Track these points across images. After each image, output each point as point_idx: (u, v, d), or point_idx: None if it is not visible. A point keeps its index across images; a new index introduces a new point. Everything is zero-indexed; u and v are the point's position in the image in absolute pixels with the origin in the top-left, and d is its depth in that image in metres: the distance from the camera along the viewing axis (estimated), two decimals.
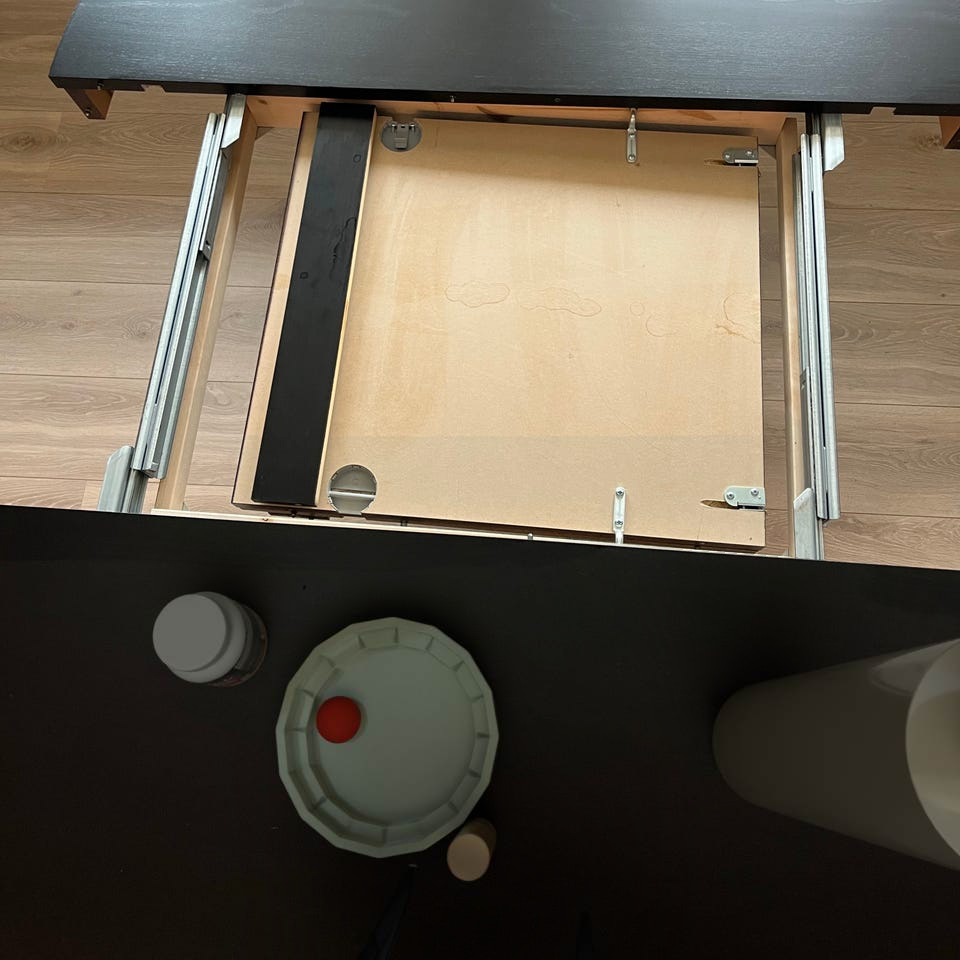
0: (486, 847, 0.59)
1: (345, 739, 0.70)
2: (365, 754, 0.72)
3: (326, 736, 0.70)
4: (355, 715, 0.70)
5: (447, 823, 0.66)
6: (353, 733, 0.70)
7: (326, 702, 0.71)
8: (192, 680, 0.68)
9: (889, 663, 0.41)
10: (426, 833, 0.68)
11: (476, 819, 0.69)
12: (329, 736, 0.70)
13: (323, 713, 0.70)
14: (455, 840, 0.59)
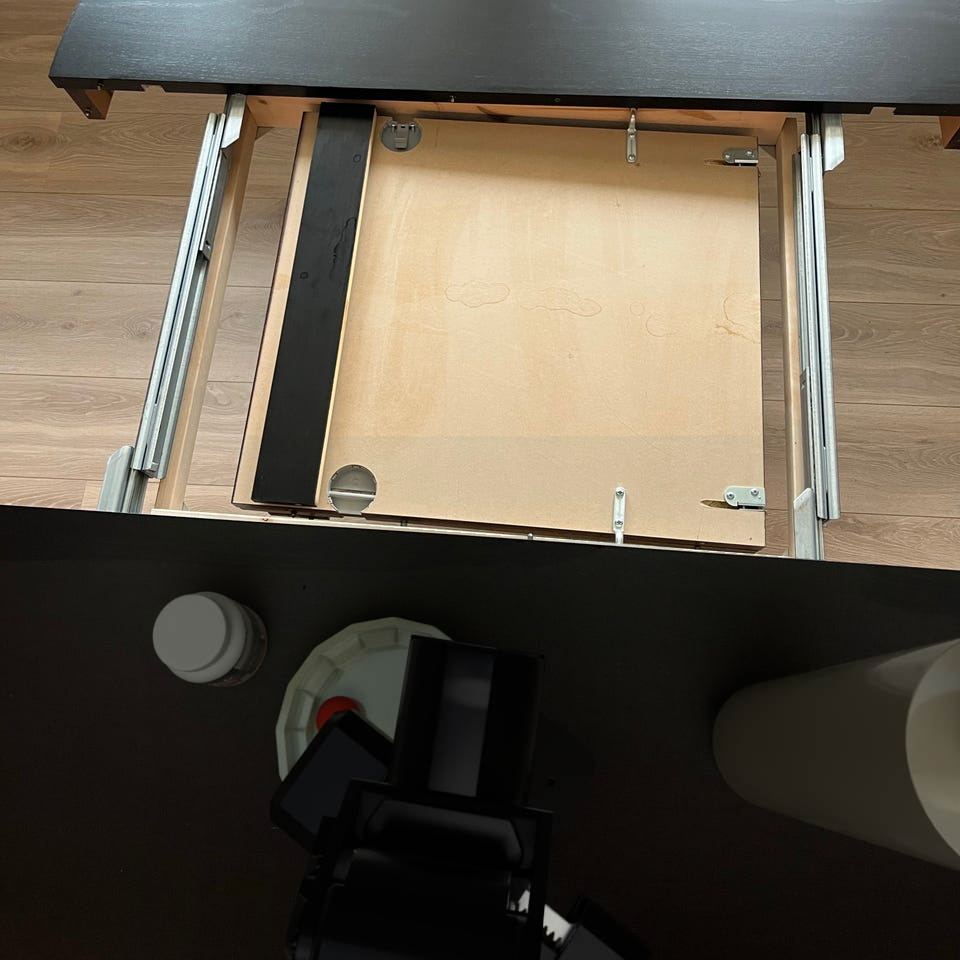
0: None
1: None
2: None
3: None
4: None
5: None
6: None
7: (326, 702, 0.71)
8: (192, 680, 0.68)
9: (889, 663, 0.41)
10: None
11: None
12: None
13: (323, 713, 0.70)
14: None
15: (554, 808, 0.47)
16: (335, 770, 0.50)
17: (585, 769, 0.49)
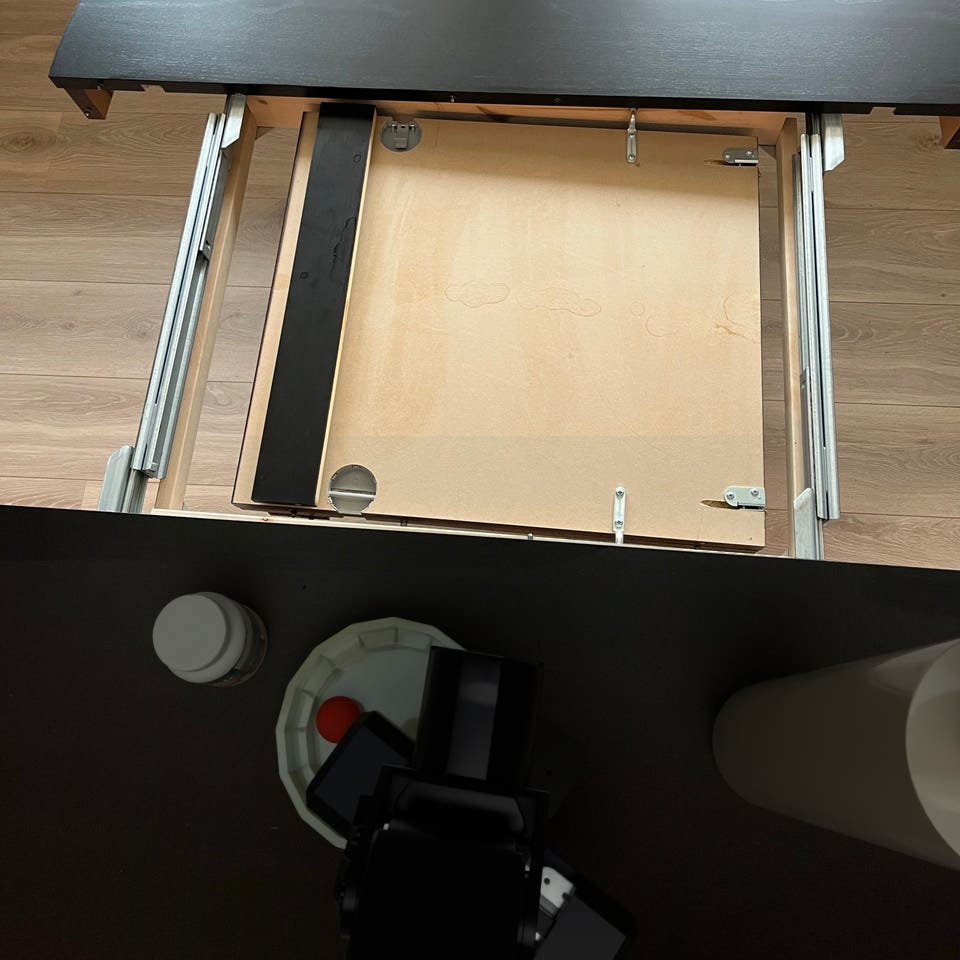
0: None
1: None
2: None
3: (326, 736, 0.70)
4: (355, 715, 0.70)
5: None
6: None
7: (326, 702, 0.71)
8: (192, 680, 0.68)
9: (889, 663, 0.41)
10: None
11: None
12: (329, 736, 0.70)
13: (323, 713, 0.70)
14: None
15: (551, 794, 0.56)
16: (362, 763, 0.59)
17: (578, 761, 0.57)
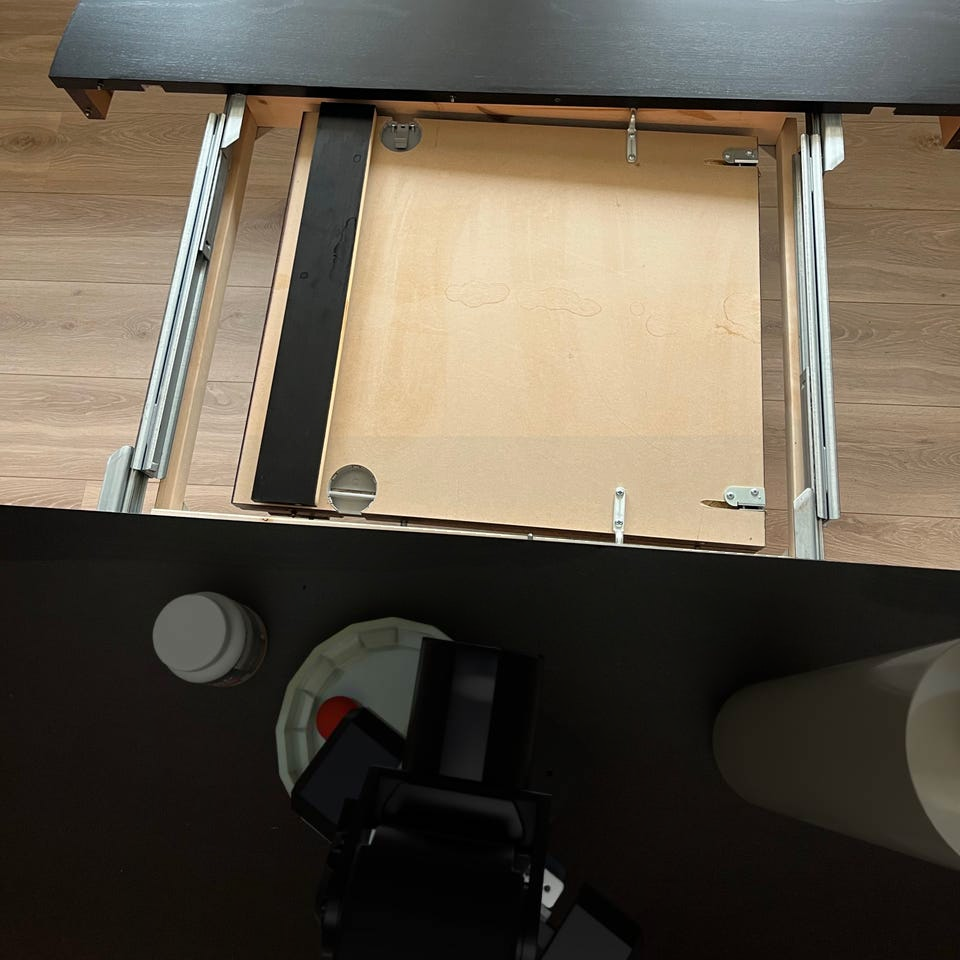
0: None
1: None
2: None
3: (326, 736, 0.70)
4: None
5: None
6: None
7: (326, 702, 0.71)
8: (192, 680, 0.68)
9: (889, 663, 0.41)
10: None
11: None
12: None
13: (323, 713, 0.70)
14: None
15: (552, 796, 0.52)
16: (351, 762, 0.55)
17: (581, 761, 0.53)
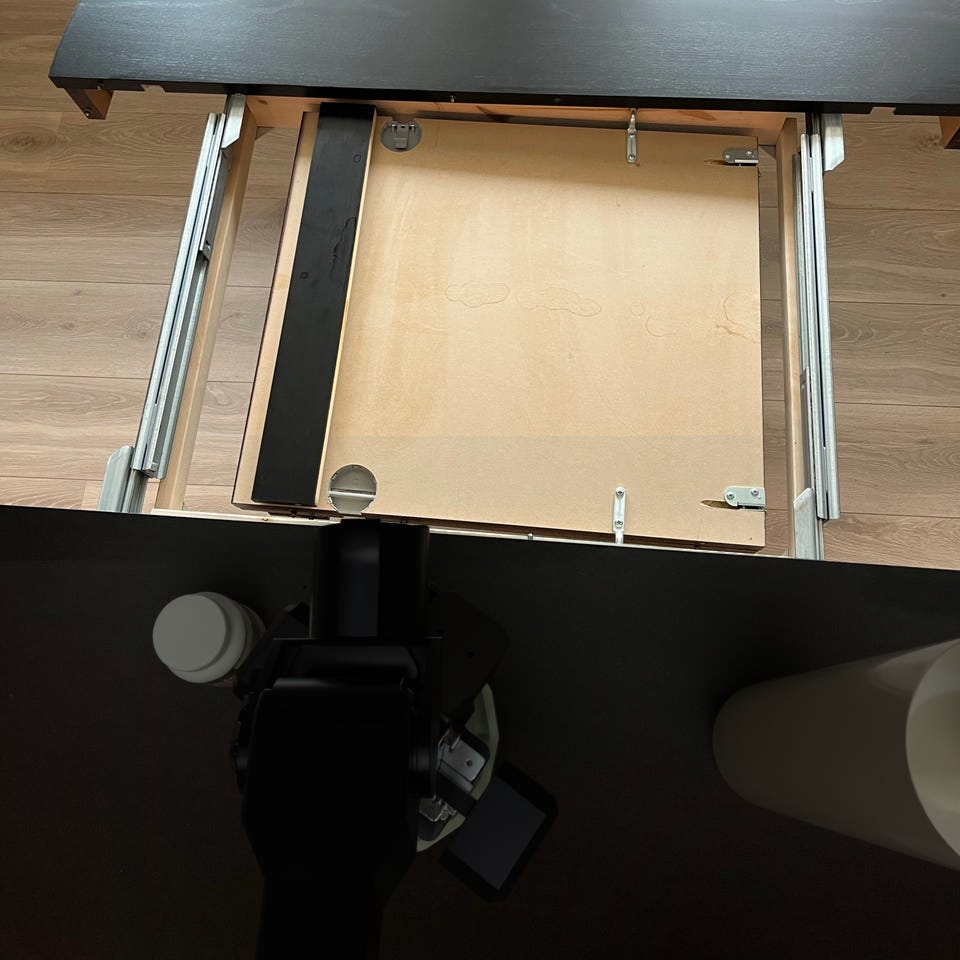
0: None
1: None
2: None
3: None
4: None
5: (447, 823, 0.66)
6: None
7: None
8: (192, 680, 0.68)
9: (889, 663, 0.41)
10: None
11: None
12: None
13: None
14: None
15: (472, 675, 0.56)
16: None
17: (500, 644, 0.57)
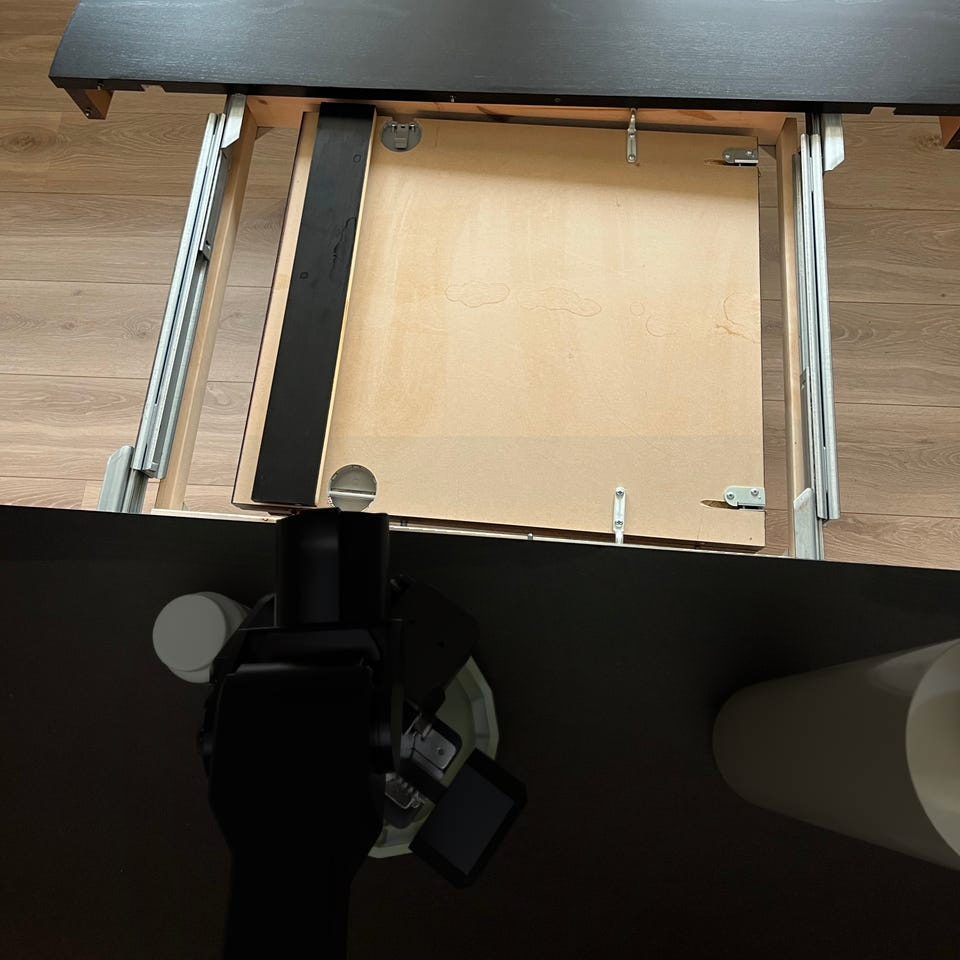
0: None
1: None
2: None
3: None
4: None
5: None
6: None
7: None
8: (192, 680, 0.68)
9: (889, 663, 0.41)
10: None
11: None
12: None
13: None
14: None
15: (442, 664, 0.57)
16: None
17: (471, 635, 0.58)
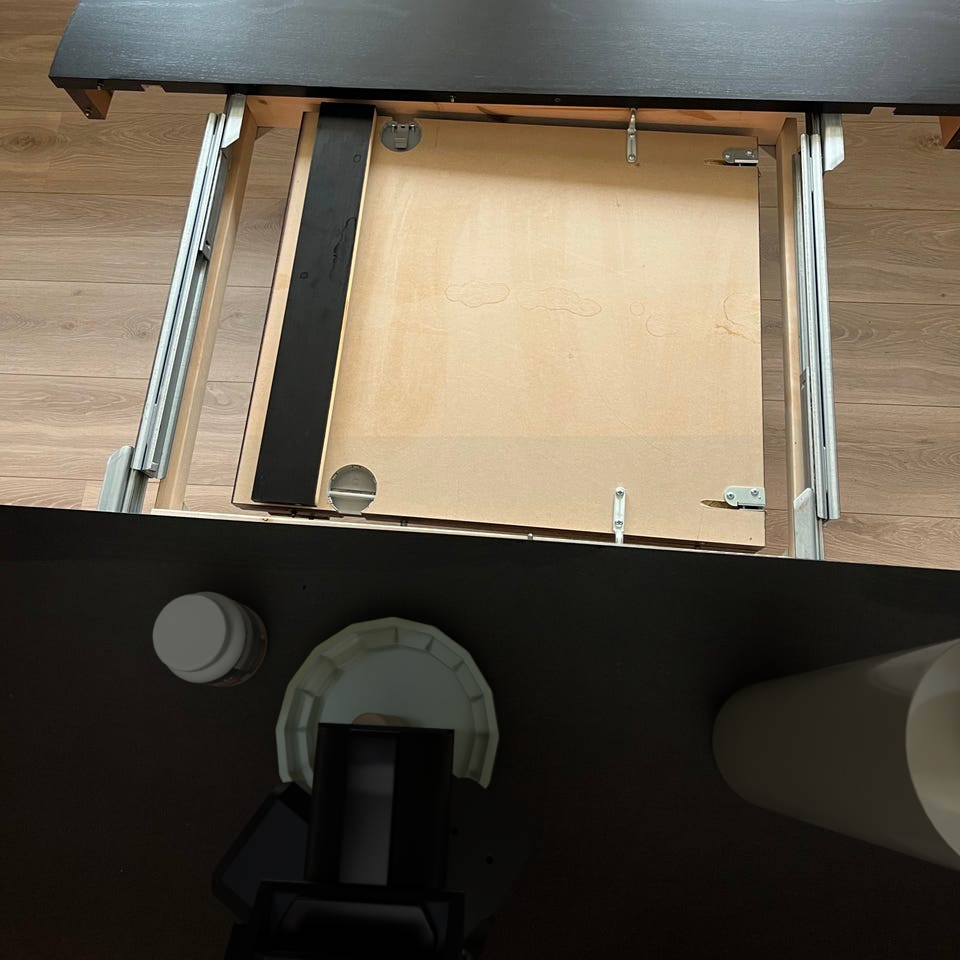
0: None
1: None
2: None
3: None
4: None
5: None
6: None
7: None
8: (192, 680, 0.68)
9: (889, 663, 0.41)
10: None
11: None
12: None
13: None
14: (358, 717, 0.61)
15: (492, 887, 0.47)
16: (277, 844, 0.50)
17: (524, 846, 0.49)
